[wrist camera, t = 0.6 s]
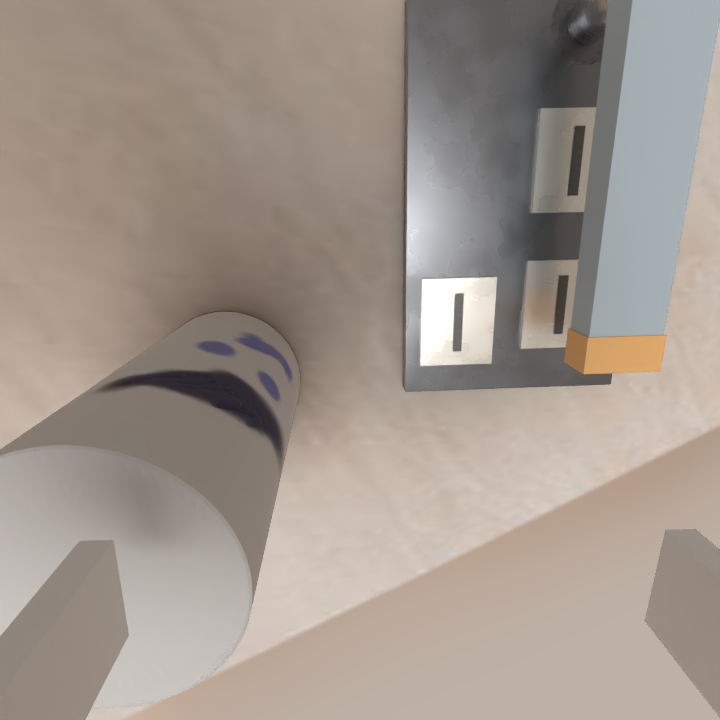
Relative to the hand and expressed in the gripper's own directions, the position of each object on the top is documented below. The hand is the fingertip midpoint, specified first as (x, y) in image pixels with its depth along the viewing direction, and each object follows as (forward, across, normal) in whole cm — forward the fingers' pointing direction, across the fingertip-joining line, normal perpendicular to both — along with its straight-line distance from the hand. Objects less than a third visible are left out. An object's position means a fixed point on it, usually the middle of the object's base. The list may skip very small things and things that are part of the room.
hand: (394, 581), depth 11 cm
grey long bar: (+16, +13, +11) cm, 23 cm away
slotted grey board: (+23, +10, +9) cm, 27 cm away
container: (+23, -9, -2) cm, 25 cm away
